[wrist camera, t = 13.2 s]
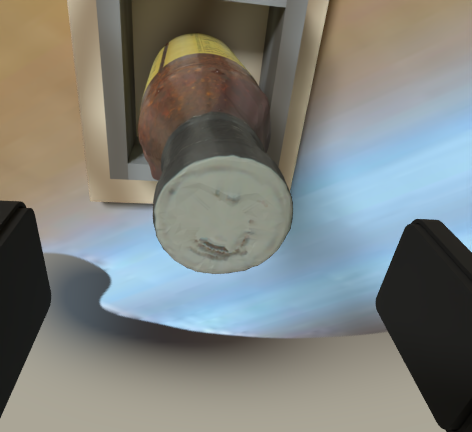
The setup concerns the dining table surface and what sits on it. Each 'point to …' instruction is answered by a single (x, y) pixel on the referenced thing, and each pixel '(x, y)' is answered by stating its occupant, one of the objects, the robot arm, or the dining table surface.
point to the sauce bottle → (211, 159)
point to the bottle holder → (142, 58)
